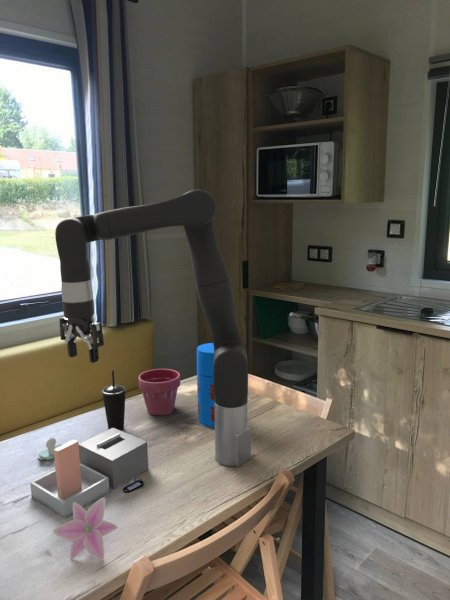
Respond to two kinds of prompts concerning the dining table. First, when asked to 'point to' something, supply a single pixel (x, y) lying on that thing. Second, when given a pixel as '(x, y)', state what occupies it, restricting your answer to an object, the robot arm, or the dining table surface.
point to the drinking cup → (114, 404)
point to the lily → (87, 529)
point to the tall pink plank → (67, 469)
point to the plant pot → (159, 390)
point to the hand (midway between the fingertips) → (83, 359)
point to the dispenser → (115, 455)
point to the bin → (90, 491)
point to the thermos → (205, 384)
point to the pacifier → (49, 450)
